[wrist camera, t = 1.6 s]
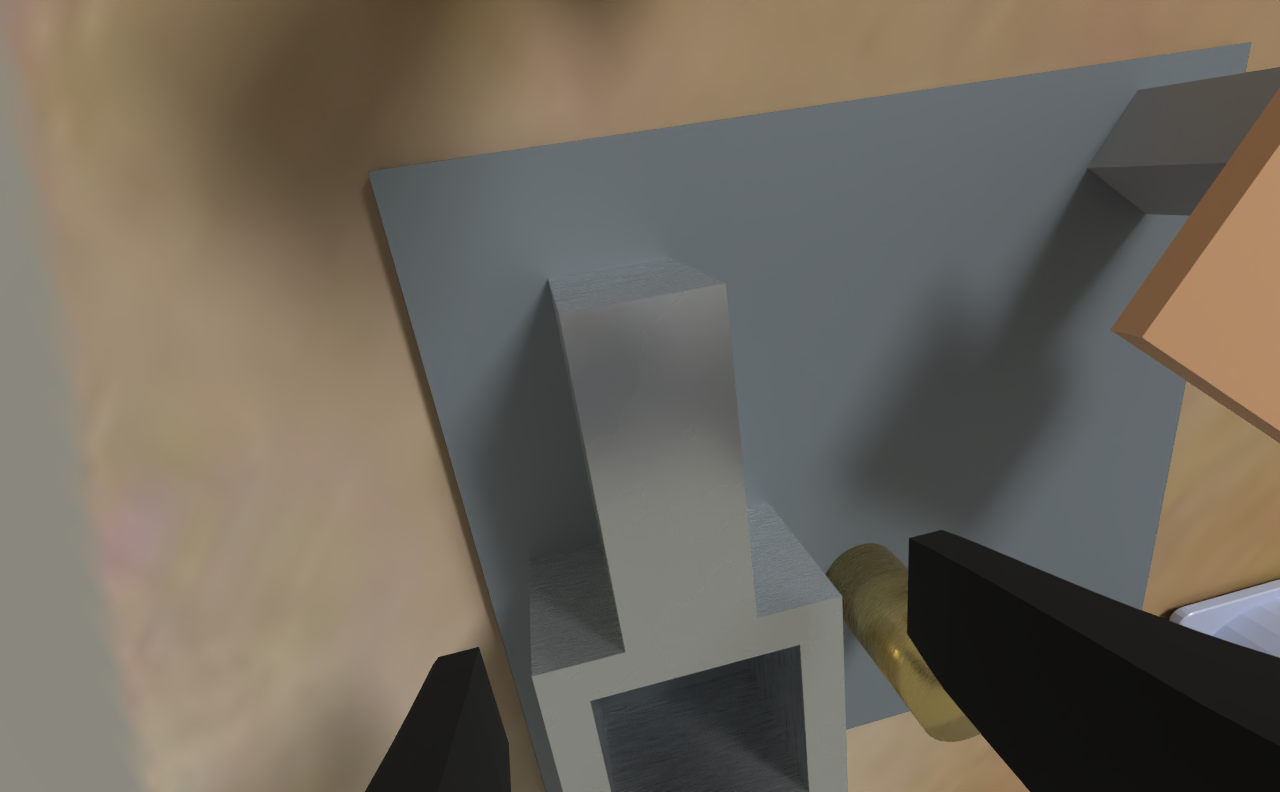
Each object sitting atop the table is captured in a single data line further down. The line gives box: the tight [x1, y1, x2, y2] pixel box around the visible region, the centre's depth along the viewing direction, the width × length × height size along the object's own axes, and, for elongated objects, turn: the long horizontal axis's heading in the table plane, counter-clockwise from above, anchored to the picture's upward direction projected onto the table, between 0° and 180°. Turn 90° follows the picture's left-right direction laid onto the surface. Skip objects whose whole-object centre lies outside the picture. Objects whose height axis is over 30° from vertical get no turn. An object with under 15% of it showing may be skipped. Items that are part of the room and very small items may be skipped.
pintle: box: [826, 543, 980, 742], centre depth 16 cm, size 2×2×5 cm
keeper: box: [1088, 67, 1280, 443], centre depth 13 cm, size 6×6×6 cm
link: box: [529, 258, 848, 792], centre depth 14 cm, size 14×7×4 cm, turn 9°
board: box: [368, 42, 1251, 792], centre depth 17 cm, size 19×21×1 cm
